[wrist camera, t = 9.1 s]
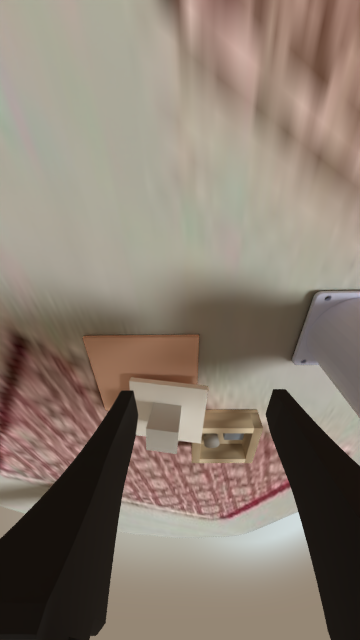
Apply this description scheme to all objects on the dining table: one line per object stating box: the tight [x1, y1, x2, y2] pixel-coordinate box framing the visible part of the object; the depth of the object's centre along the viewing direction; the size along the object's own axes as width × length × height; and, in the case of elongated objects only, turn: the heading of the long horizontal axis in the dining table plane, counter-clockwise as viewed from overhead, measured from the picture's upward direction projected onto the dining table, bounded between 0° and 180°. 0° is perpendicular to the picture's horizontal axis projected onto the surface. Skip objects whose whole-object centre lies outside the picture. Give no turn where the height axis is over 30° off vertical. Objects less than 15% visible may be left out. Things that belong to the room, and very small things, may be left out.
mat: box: [83, 335, 199, 411], centre depth 23 cm, size 11×11×1 cm
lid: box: [129, 377, 208, 454], centre depth 23 cm, size 8×8×5 cm
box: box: [191, 410, 263, 463], centre depth 28 cm, size 8×8×2 cm
